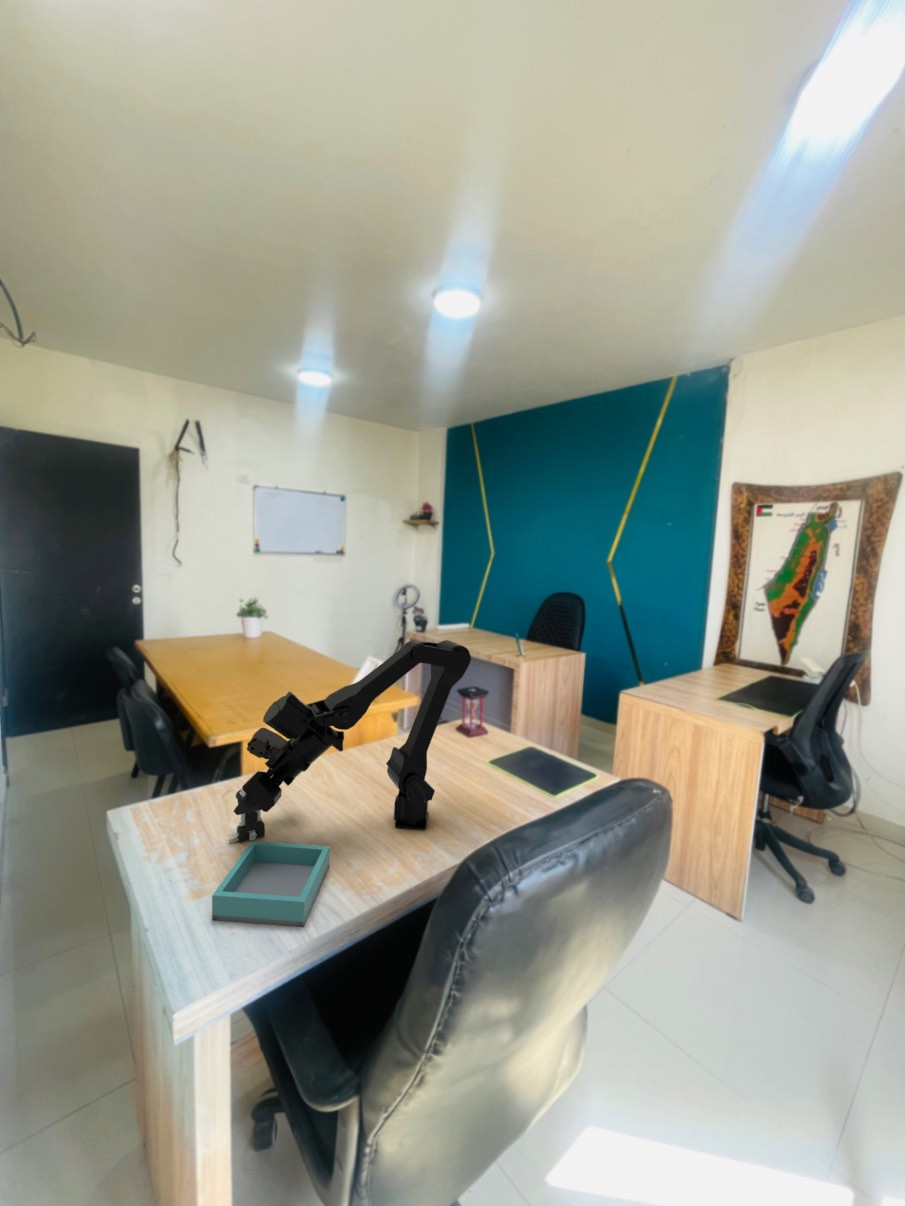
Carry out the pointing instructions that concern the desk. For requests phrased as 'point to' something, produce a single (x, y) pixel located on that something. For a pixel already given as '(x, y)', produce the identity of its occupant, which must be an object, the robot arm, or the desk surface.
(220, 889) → the tray
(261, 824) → the push button
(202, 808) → the desk surface
